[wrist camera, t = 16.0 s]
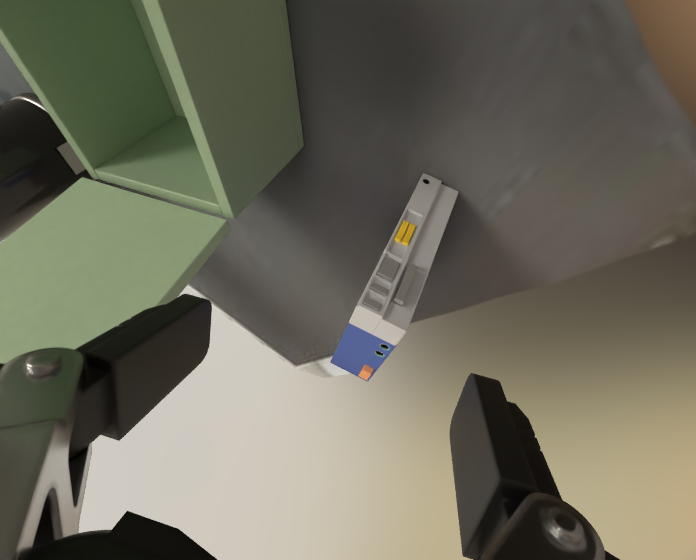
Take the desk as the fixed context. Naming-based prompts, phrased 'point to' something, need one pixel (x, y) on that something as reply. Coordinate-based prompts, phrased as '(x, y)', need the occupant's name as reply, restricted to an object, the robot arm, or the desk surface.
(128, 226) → the lid
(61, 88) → the bin
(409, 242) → the walkman
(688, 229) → the desk surface
